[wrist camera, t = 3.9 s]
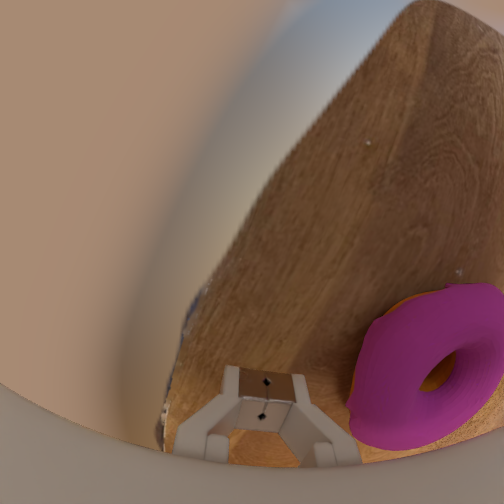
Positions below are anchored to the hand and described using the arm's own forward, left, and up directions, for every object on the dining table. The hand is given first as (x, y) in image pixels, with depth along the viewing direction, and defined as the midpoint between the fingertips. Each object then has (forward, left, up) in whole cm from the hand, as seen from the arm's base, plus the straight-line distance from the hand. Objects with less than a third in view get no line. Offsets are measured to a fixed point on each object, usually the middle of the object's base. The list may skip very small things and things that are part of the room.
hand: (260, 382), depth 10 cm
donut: (0, +10, -3) cm, 10 cm away
